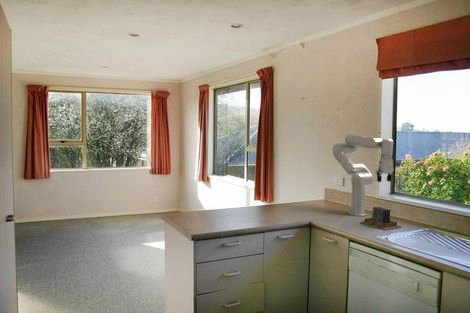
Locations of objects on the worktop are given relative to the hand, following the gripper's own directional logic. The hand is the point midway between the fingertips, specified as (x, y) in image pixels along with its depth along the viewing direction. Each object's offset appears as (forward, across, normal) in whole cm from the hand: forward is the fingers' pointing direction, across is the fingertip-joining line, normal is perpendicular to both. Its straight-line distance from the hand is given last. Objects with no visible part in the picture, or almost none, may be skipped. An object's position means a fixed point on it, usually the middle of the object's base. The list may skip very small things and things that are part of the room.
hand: (384, 181), depth 264 cm
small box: (+27, -12, -10) cm, 31 cm away
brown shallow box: (+27, -12, -10) cm, 32 cm away
